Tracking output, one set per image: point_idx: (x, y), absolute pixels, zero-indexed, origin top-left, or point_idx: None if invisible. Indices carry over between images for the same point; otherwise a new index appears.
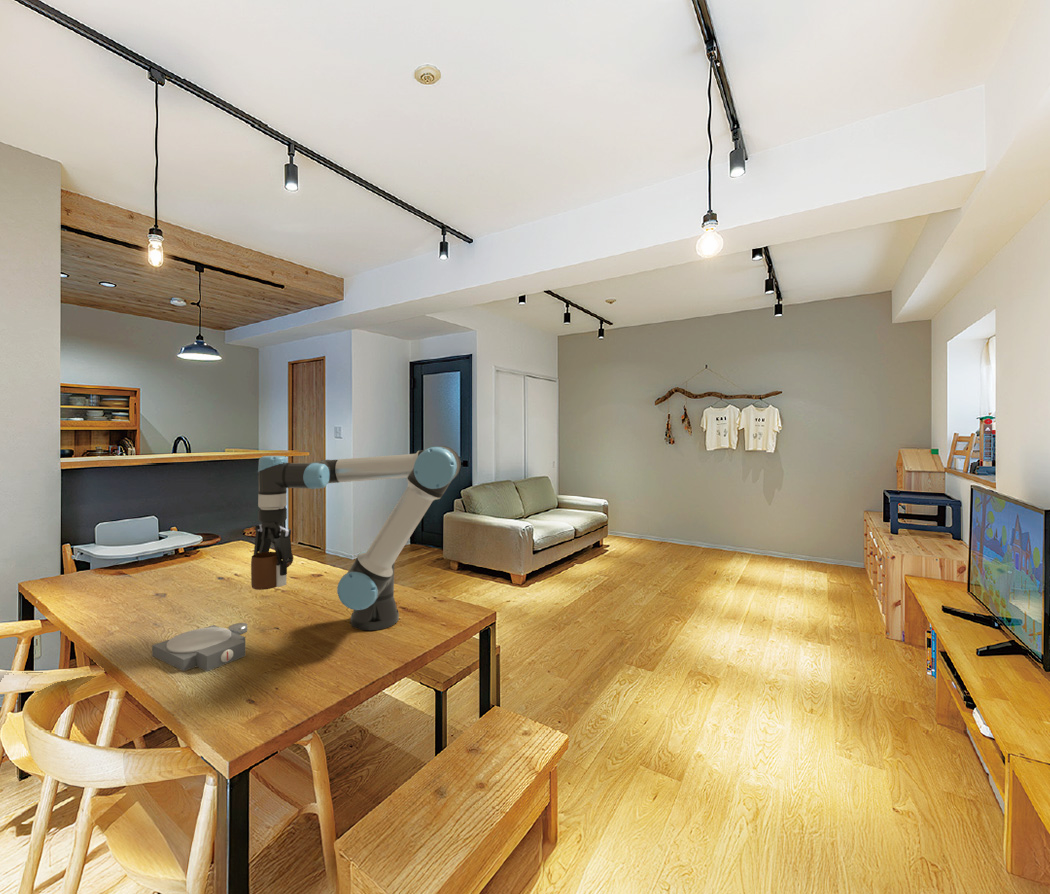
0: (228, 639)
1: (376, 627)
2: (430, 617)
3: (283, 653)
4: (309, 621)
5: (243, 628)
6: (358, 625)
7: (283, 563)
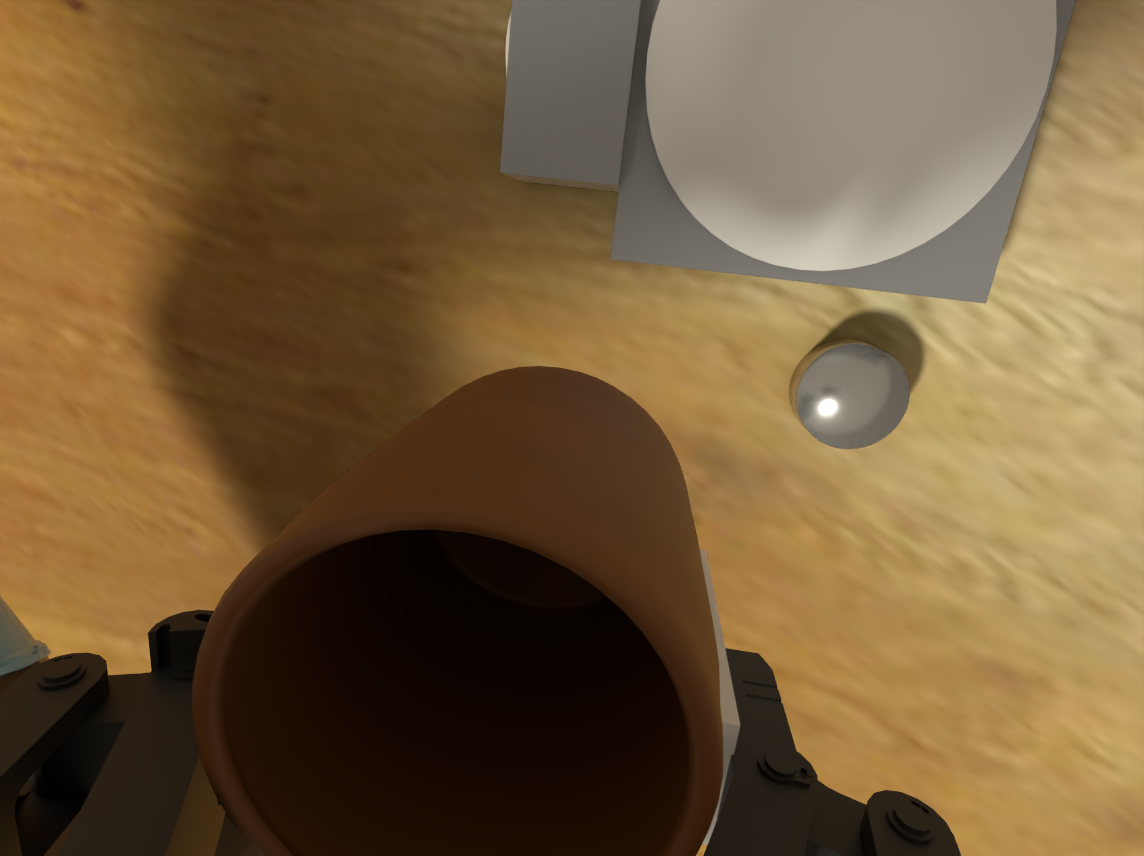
0: (666, 175)
1: None
2: None
3: (370, 296)
4: None
5: (797, 394)
6: None
7: (88, 655)
